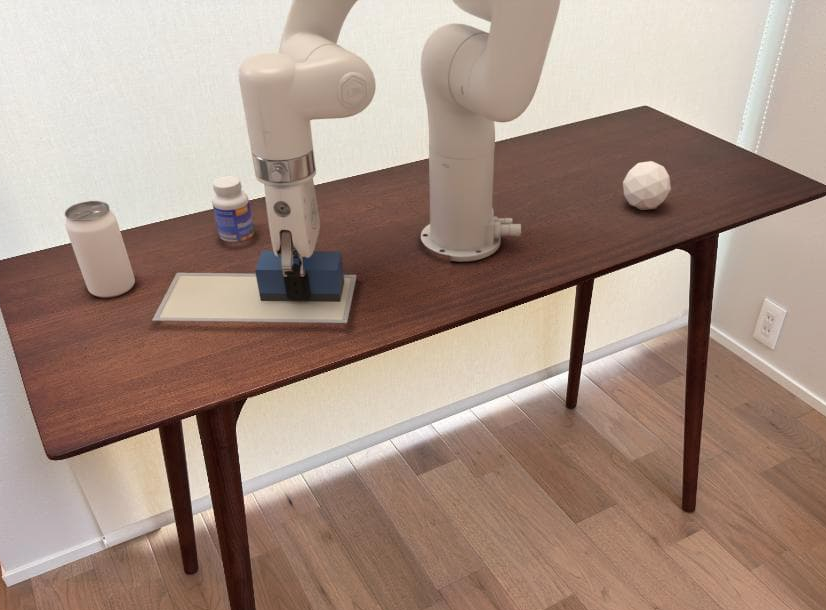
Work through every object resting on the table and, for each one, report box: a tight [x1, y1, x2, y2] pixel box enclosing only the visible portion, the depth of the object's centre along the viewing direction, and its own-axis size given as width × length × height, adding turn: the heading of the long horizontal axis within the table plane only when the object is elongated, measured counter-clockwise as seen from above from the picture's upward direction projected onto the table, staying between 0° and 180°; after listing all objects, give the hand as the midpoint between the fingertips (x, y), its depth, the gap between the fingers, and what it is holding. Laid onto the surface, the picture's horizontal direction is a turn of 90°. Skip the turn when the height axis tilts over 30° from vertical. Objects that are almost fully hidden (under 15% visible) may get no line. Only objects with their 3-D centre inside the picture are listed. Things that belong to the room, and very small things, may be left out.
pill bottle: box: [211, 175, 255, 243], centre depth 120 cm, size 5×5×10 cm
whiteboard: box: [151, 272, 357, 324], centre depth 109 cm, size 26×12×1 cm, turn 90°
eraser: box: [254, 250, 345, 302], centre depth 108 cm, size 11×5×5 cm, turn 90°
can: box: [64, 200, 136, 299], centre depth 108 cm, size 6×6×12 cm
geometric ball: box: [622, 160, 672, 211], centre depth 131 cm, size 8×8×8 cm
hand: (302, 285), depth 109 cm, fingers closed on eraser, 5 cm apart
